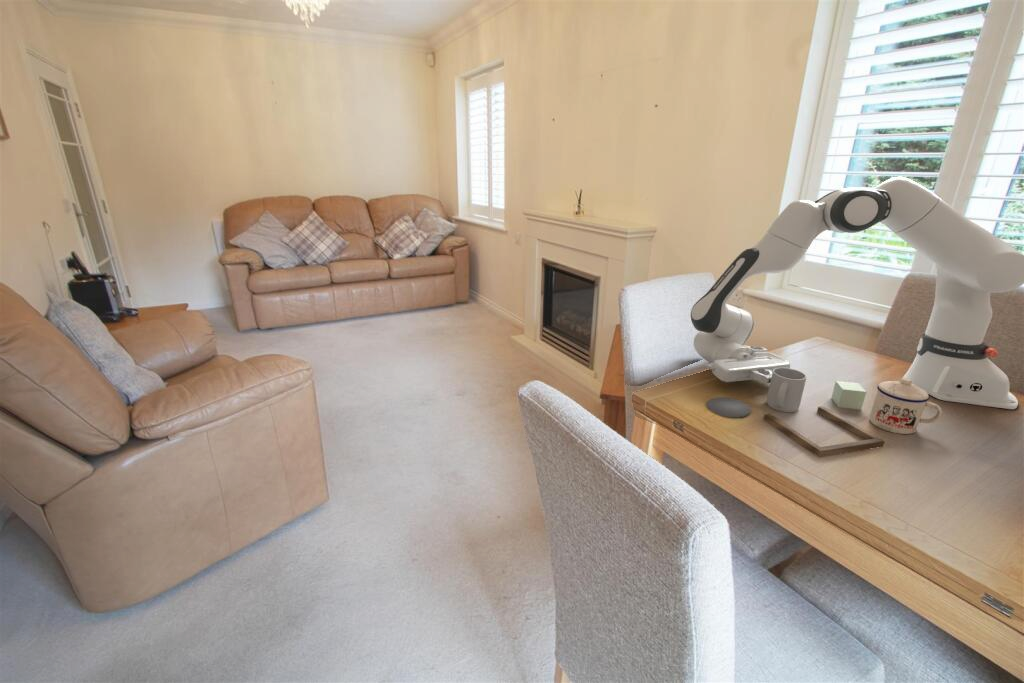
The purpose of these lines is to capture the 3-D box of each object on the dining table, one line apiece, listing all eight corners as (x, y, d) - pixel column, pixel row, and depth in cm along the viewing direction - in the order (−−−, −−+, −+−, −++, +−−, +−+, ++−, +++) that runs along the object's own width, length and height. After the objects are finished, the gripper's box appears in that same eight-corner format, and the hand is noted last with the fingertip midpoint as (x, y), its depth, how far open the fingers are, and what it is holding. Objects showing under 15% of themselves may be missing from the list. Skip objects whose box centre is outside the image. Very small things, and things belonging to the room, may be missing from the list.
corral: (763, 419, 109) (764, 413, 109) (821, 411, 113) (822, 406, 112) (818, 457, 95) (820, 451, 94) (882, 446, 98) (884, 440, 98)
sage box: (853, 400, 118) (858, 383, 116) (861, 410, 113) (866, 391, 112) (831, 398, 119) (835, 380, 117) (837, 407, 115) (842, 389, 113)
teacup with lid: (867, 427, 106) (881, 381, 101) (867, 411, 112) (880, 367, 108) (936, 444, 99) (954, 395, 95) (931, 426, 106) (948, 380, 102)
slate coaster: (741, 399, 119) (741, 397, 118) (756, 418, 109) (757, 416, 109) (701, 399, 120) (701, 397, 120) (713, 417, 110) (713, 415, 110)
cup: (801, 405, 116) (809, 372, 113) (792, 420, 109) (801, 386, 105) (769, 396, 120) (776, 365, 117) (759, 410, 113) (766, 378, 110)
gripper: (704, 353, 126) (738, 373, 113) (768, 346, 130) (808, 365, 117) (701, 374, 128) (734, 396, 115) (764, 367, 132) (802, 387, 120)
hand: (772, 380), depth 116 cm, fingers closed
